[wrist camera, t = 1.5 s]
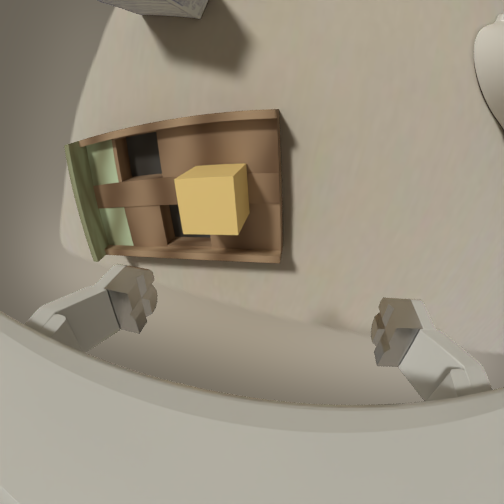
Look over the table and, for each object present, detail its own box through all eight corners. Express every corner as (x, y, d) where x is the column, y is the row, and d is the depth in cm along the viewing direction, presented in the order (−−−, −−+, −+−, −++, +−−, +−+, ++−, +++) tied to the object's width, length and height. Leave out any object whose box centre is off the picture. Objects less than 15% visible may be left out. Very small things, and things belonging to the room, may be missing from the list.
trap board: (278, 109, 24) (272, 109, 19) (282, 246, 31) (277, 273, 27) (93, 136, 28) (64, 145, 24) (115, 241, 35) (93, 261, 31)
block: (246, 163, 25) (233, 176, 20) (249, 212, 27) (238, 235, 23) (196, 165, 26) (174, 179, 21) (202, 212, 28) (183, 234, 24)
